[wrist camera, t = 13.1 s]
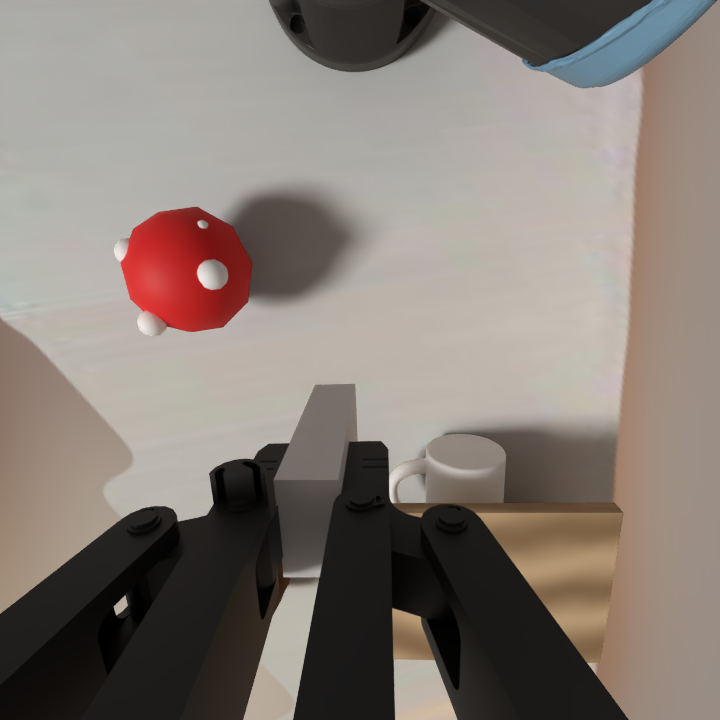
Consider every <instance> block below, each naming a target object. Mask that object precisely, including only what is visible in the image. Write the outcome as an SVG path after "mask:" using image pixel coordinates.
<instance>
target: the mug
mask: <svg viewBox="0 0 720 720" xmlns="http://www.w3.org/2000/svg"><path fill="white" fill-rule="evenodd" d="M505 468H506V453H505V451H504V450H503V448H502V447H501V446H500V445H499V444H497V443H496V442H494V441H492V440H490V439H487V438H484V437H481V436H477V435H471V434H450V435H444V436H441V437H438V438H436V439H434V440H432V441H431V442H430V443H429V444H428V445H427V447H426V457H425V458H424V459H415V460H410V461H407V462H404V463H402V464H400V465H398V466H397V467H396V468H395V469H394V470H393V471H392V473H391V474H390V477H389V496H390V500H391V502H392V503H401V502H400V500H399V498H398V493H397V486H398V484H399V482H400V481H401V480H402V479H404V478H406V477H408V476H411V475H416V474H423V473H424V474H426V503H503V501H504V485H505Z"/></svg>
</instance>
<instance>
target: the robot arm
mask: <svg viewBox="0 0 720 720" xmlns="http://www.w3.org/2000/svg"><path fill="white" fill-rule="evenodd" d="M716 1H717V0H269V2H270V4H271V7H272V9H273V11H274V13H275V15H276V17H277V19H278V21H279V23H280V25H281V27H282V28H283V30H284V32H285V33H286V35H287V36H288V37H289V39H290V40H291V41H292V42H293V43H294V45H295V46H296V47H297V48H298V49H299V50H300V51H302V52H303V53H304V54H305V55H306V56H308V57H309V58H311V59H312V60H314V61H315V62H317V63H319V64H321V65H323V66H326V67H328V68H331V69H335V70H339V71H346V72H361V71H367V70H372V69H376V68H379V67H381V66H384V65H386V64H388V63H390V62H392V61H394V60H395V59H397V58H398V57H400V56H401V55H402V54H404V53H405V52H406V51H407V50H408V49H409V48H410V47H411V46H412V45H413V44H414V43H415V42H416V41H417V40H418V39H419V37H420V36H421V35H422V33H423V32H424V31H425V29H426V27H427V26H428V24H429V22H430V20H431V18H432V16H433V14H434V12H435V10H438V11H440V12H441V13H443V14H445V15H447V16H448V17H450V18H452V19H454V20H455V21H457V22H459V23H461V24H462V25H464V26H466V27H468V28H469V29H471V30H473V31H475V32H476V33H478V34H480V35H482V36H483V37H485V38H487V39H489V40H491V41H492V42H494V43H496V44H498V45H499V46H501V47H503V48H505V49H506V50H508V51H510V52H512V53H513V54H515V55H517V56H519V57H520V58H522V62H523V63H524V65H525V66H526V67H528V68H529V69H531V70H537V71H541V72H544V71H545V72H547V73H549V74H551V75H553V76H555V77H557V78H559V79H561V80H563V81H565V82H567V83H569V84H571V85H573V86H575V87H579V88H590V87H592V88H594V87H603V86H606V85H609V84H612V83H614V82H616V81H619V80H621V79H623V78H624V77H626V76H628V75H630V74H631V73H633V72H635V71H636V70H638V69H639V68H641V67H642V66H644V65H645V64H646V63H648V62H649V61H651V60H652V59H653V58H654V57H655V56H657V55H658V54H659V53H661V52H662V51H663V50H664V49H666V48H667V47H668V46H669V45H670V44H671V43H673V42H674V41H675V40H676V39H677V38H678V37H680V36H681V35H682V34H683V33H684V32H685V31H686V30H687V29H688V28H690V27H691V25H693V24H694V23H695V22H696V21H697V20H698V19H699V18H700V17H701V16H702V15H703V14H704V13H705V12H706V11H707V10H708V9H709V8H710V7H711V6H712V5H713V4H714V3H715V2H716ZM209 475H210V482H211V488H212V495H213V502H214V505H213V506H212V508H211V509H210V511H209V513H208V514H207V515H206V516H202V517H199V518H194V519H189V520H184V521H179V522H178V521H177V515H176V513H175V512H174V510H173V509H171V508H168V507H165V506H153V507H149V508H148V507H147V508H143V509H140V510H138V511H136V512H133V513H131V514H129V515H128V516H126V517H124V518H123V519H121V520H120V521H119V522H117V523H116V524H115V525H113V526H112V527H111V528H110V529H108V530H107V531H106V532H104V533H103V534H102V535H101V536H100V537H98V538H97V539H96V540H94V541H93V542H92V543H90V544H89V545H88V546H87V547H85V548H84V549H83V550H81V551H80V552H79V553H78V554H76V555H75V556H74V557H72V558H71V559H70V560H69V561H67V562H66V563H65V564H64V565H62V566H61V567H60V568H59V569H57V570H56V571H55V572H53V573H52V574H51V575H50V576H48V577H47V578H46V579H44V580H43V581H42V582H41V583H39V584H38V585H37V586H35V587H34V588H33V589H32V590H30V591H29V592H28V593H27V594H25V595H24V596H23V597H22V598H20V599H19V600H18V601H16V602H15V603H14V604H12V605H11V606H10V607H9V608H7V609H6V610H5V611H3V612H2V613H1V614H0V720H243V718H244V715H245V711H246V707H247V704H248V700H249V697H250V693H251V690H252V686H253V683H254V679H255V676H256V672H257V668H258V665H259V662H260V658H261V655H262V651H263V647H264V644H265V640H266V637H267V633H268V630H269V626H270V623H271V619H272V616H273V612H274V609H275V605H276V602H277V598H278V594H279V583H278V571H279V568H280V564H281V561H282V567H283V576H284V577H320V578H319V583H318V589H317V594H316V599H315V605H314V610H313V616H312V621H311V626H310V632H309V637H308V643H307V648H306V653H305V659H304V664H303V670H302V675H301V680H300V686H299V691H298V697H297V702H296V707H295V713H294V718H293V720H395V702H394V660H393V617H392V608H394V609H397V610H400V611H403V612H407V613H410V614H413V615H416V616H420V617H421V624H422V627H423V630H424V632H425V635H426V638H427V640H428V643H429V646H430V648H431V651H432V653H433V656H434V659H435V661H436V664H437V667H438V669H439V672H440V674H441V677H442V680H443V682H444V685H445V688H446V690H447V693H448V695H449V698H450V701H451V703H452V706H453V709H454V711H455V714H456V716H457V719H458V720H629V719H628V718H627V717H626V716H625V714H624V713H623V711H622V710H621V709H620V707H619V706H618V705H617V703H616V702H615V701H614V699H613V698H612V696H611V695H610V694H609V692H608V691H607V690H606V688H605V687H604V685H603V684H602V683H601V682H600V680H599V679H598V677H597V676H596V674H595V673H594V672H593V670H592V669H591V668H590V666H589V665H588V664H587V662H586V661H585V660H584V658H583V657H582V655H581V654H580V653H579V651H578V650H577V649H576V647H575V646H574V645H573V643H572V642H571V640H570V639H569V638H568V636H567V635H566V634H565V632H564V631H563V630H562V628H561V627H560V625H559V624H558V623H557V621H556V620H555V619H554V617H553V616H552V615H551V613H550V612H549V610H548V609H547V608H546V606H545V605H544V604H543V602H542V601H541V600H540V598H539V597H538V596H537V594H536V593H535V591H534V590H533V589H532V587H531V586H530V585H529V583H528V582H527V581H526V579H525V578H524V576H523V575H522V574H521V572H520V571H519V570H518V568H517V567H516V566H515V564H514V563H513V561H512V560H511V559H510V557H509V556H508V555H507V553H506V552H505V551H504V549H503V548H502V546H501V545H500V544H499V542H498V541H497V540H496V538H495V537H494V536H493V534H492V533H491V532H490V530H489V529H488V527H487V526H486V525H485V523H484V522H483V521H482V519H481V518H480V517H479V516H478V515H477V514H476V513H475V512H474V511H472V510H470V509H468V508H466V507H464V506H459V505H455V504H439V505H436V506H433V507H430V508H429V509H427V510H426V511H425V512H424V513H423V515H422V517H416V516H413V515H409V514H406V513H404V512H402V511H400V510H399V509H397V508H396V507H395V506H394V505H393V504H392V502H391V500H390V496H389V460H388V448H387V447H386V446H385V445H384V444H383V443H382V442H381V441H360V442H358V440H357V416H356V393H355V384H333V385H315V387H314V389H313V391H312V394H311V396H310V398H309V400H308V403H307V405H306V407H305V409H304V412H303V414H302V416H301V419H300V421H299V423H298V425H297V428H296V430H295V432H294V435H293V437H292V439H291V441H290V443H285V444H268V445H266V446H265V447H264V448H262V449H261V450H260V451H258V453H257V454H256V456H255V458H254V460H253V459H238V460H233V461H229V462H226V463H223V464H221V465H219V466H217V467H215V468H214V469H213V470H212V471H211V472H210V473H209ZM125 595H126V599H127V603H128V606H127V607H126V608H125V609H124V611H122V612H121V613H120V614H118V615H116V614H115V611H114V605H116V603H118V602H119V601H120V600H121V599H122V597H124V596H125Z"/></svg>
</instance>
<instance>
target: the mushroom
mask: <svg viewBox="0 0 720 720" xmlns="http://www.w3.org/2000/svg"><path fill="white" fill-rule="evenodd" d="M114 252H115V256H116V258H117V259H118V260H119V261H120V262H121V267H122V270H123V274H124V277H125V281H126V285H127V288H128V292H129V295H130V299H131V300H132V301H133V302H134V303H135V304H136V305H137V306H138V307H139V308H141V309H142V310H143V312H142V313H141V314H140V315H139V318H138V321H137V323H138V327H139V329H140V330H141V331H142V332H143V333H144V334H145V335H150V336H157V335H161V334H162V333H163V332H164V331H165V330H166V327H167V326H168V327H172V328H175V329H179V330H183V331H187V332H196V331H202V330H209V329H215V328H221V327H224V326H225V325H226V324H227V323H228V322H229V321H230V320H231V319H232V318H233V317H234V316H235V315H236V314H237V312H238V311H239V310H240V309H241V308H242V307H243V306H244V305H245V304H246V303H247V302H248V297H249V288H250V280H251V271H252V262H251V260H250V258H249V256H248V255H247V253H246V251H245V249H244V247H243V245H242V243H241V241H240V239H239V237H238V235H237V233H236V232H235V230H234V228H233V227H232V226H231V225H229V224H227V223H225V222H223V221H222V220H220V219H218V218H216V217H214V216H213V215H211V214H209V213H207V212H205V211H204V210H202V209H200V208H198V207H191V208H184V209H177V210H170V211H163V212H158V213H156V214H155V215H153V216H152V217H150V218H149V219H147V220H146V221H144V222H143V223H141V224H140V225H138V226H137V227H135V228H134V229H133V231H132V234H131V236H130V238H127V239H122V240H120V241H119V242H117V243H116V245H115V248H114Z"/></svg>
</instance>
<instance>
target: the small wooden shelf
mask: <svg viewBox="0 0 720 720" xmlns="http://www.w3.org/2000/svg"><path fill="white" fill-rule="evenodd" d="M392 504H393V505H394V506H395V507H396V508H397V509H399V510H400V511H402V512H404V513H406V514H409V515H413V516H416V517H422V515H423V513H424V512H425V511H426V510H427V509H429V508H430V507H433V506H436V505H439V504H455V505H459V506H464V507H466V508H468V509H470V510H472V511H474V512H475V513H476V514H477V515H478V516H479V517H480V518H481V519H482V521H483V522H484V523H485V525H486V526H487V527H488V529H489V530H490V532H491V533H492V534H493V536H494V537H495V538H496V540H497V541H498V542H499V544H500V545H501V546H502V548H503V549H504V551H505V552H506V553H507V555H508V556H509V557H510V559H511V560H512V561H513V563H514V564H515V566H516V567H517V568H518V570H519V571H520V572H521V574H522V575H523V576H524V578H525V579H526V581H527V582H528V583H529V585H530V586H531V587H532V589H533V590H534V591H535V593H536V594H537V596H538V597H539V598H540V600H541V601H542V602H543V604H544V605H545V606H546V608H547V609H548V610H549V612H550V613H551V615H552V616H553V617H554V619H555V620H556V621H557V623H558V624H559V625H560V627H561V628H562V630H563V631H564V632H565V634H566V635H567V636H568V638H569V639H570V640H571V642H572V643H573V645H574V646H575V647H576V649H577V650H578V651H579V653H580V654H581V655H582V657H583V658H584V660H585V661H586V662H587V663H600V661H601V654H602V648H603V642H604V635H605V629H606V622H607V615H608V609H609V602H610V596H611V589H612V582H613V576H614V570H615V563H616V556H617V550H618V544H619V537H620V531H621V524H622V518H623V512H622V511H621V510H620V508H619V507H618V506H617V505H616V504H615V503H392ZM392 617H393V659H408V660H435V659H434V656H433V653H432V651H431V648H430V646H429V643H428V640H427V638H426V635H425V632H424V630H423V627H422V624H421V617H420V616H416V615H413V614H410V613H407V612H403V611H400V610H397V609H394V608H392Z"/></svg>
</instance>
